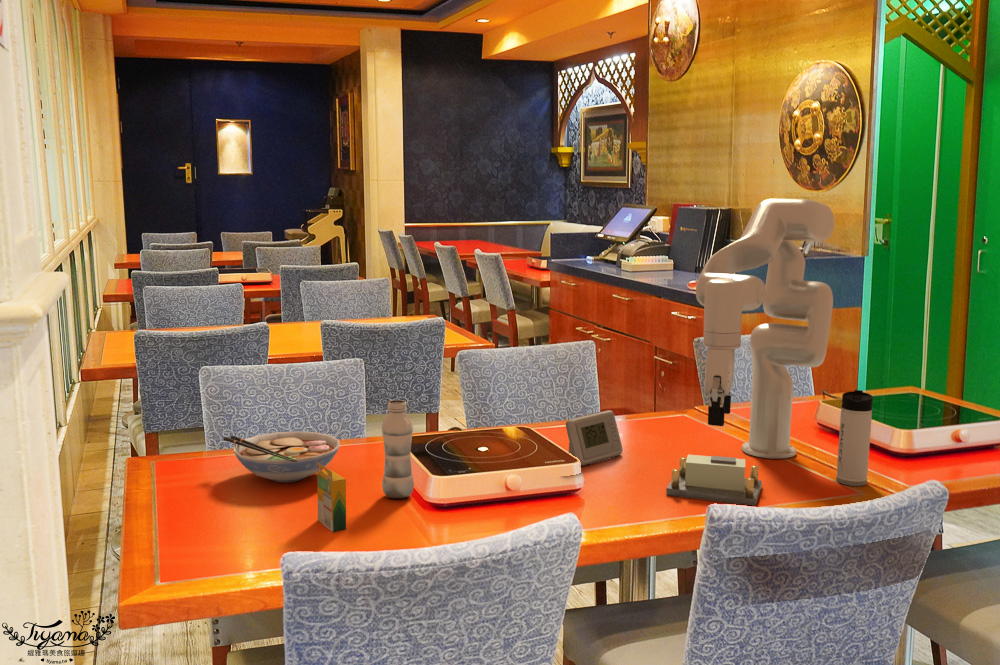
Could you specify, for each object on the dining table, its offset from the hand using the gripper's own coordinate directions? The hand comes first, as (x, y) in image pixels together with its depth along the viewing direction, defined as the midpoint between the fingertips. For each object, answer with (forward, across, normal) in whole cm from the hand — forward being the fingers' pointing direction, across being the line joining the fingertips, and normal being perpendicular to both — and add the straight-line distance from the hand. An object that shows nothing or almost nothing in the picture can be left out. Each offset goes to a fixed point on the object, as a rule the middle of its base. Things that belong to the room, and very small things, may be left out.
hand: (719, 419), depth 191 cm
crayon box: (+14, +49, -64) cm, 82 cm away
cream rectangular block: (+14, +1, 0) cm, 14 cm away
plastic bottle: (+14, +30, -60) cm, 69 cm away
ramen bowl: (+14, +28, -88) cm, 94 cm away
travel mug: (+17, -17, +27) cm, 36 cm away
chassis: (+16, +1, 0) cm, 16 cm away
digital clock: (+16, -11, -30) cm, 36 cm away
